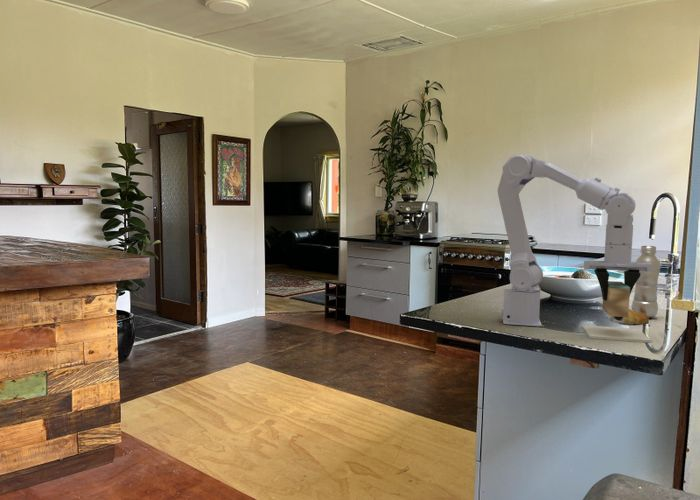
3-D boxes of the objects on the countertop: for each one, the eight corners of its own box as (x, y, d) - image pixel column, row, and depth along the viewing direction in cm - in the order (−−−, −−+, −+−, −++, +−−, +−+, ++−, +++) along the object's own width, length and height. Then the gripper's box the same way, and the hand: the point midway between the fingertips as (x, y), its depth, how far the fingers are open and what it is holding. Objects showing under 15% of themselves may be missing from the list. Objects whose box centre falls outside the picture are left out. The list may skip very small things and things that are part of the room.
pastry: (636, 319, 144) (637, 305, 144) (655, 325, 137) (657, 311, 137) (607, 320, 142) (608, 307, 141) (626, 326, 135) (627, 312, 135)
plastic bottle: (653, 315, 148) (658, 245, 146) (660, 320, 141) (665, 247, 139) (628, 313, 149) (632, 245, 147) (634, 319, 143) (639, 247, 141)
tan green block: (609, 316, 121) (611, 286, 121) (602, 308, 129) (603, 281, 128) (628, 317, 120) (630, 287, 120) (619, 309, 128) (621, 281, 127)
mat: (590, 338, 122) (590, 335, 122) (582, 327, 133) (582, 325, 133) (651, 342, 119) (651, 340, 119) (638, 331, 129) (638, 328, 129)
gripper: (588, 244, 121) (585, 301, 123) (657, 246, 118) (653, 305, 119) (583, 242, 128) (580, 296, 129) (648, 244, 124) (644, 299, 126)
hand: (615, 300), depth 125 cm, fingers closed on tan green block, 4 cm apart
